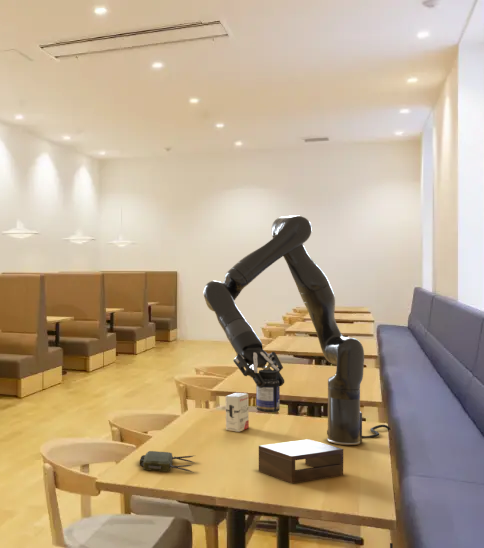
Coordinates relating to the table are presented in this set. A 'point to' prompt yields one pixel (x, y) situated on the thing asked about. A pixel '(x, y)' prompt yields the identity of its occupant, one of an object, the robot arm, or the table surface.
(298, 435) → the table surface
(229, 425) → the ink box
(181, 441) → the table surface
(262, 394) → the pill bottle
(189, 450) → the table surface
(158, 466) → the landmine
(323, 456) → the shelf
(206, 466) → the table surface
